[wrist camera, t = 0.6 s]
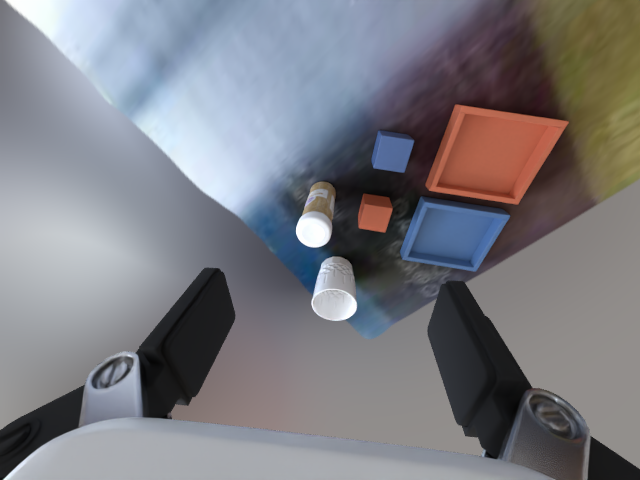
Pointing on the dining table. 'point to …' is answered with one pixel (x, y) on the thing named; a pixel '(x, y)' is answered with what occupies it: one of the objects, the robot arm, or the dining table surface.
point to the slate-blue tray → (452, 233)
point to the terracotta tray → (492, 153)
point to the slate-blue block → (392, 151)
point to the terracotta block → (374, 212)
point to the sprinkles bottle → (317, 216)
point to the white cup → (335, 290)
